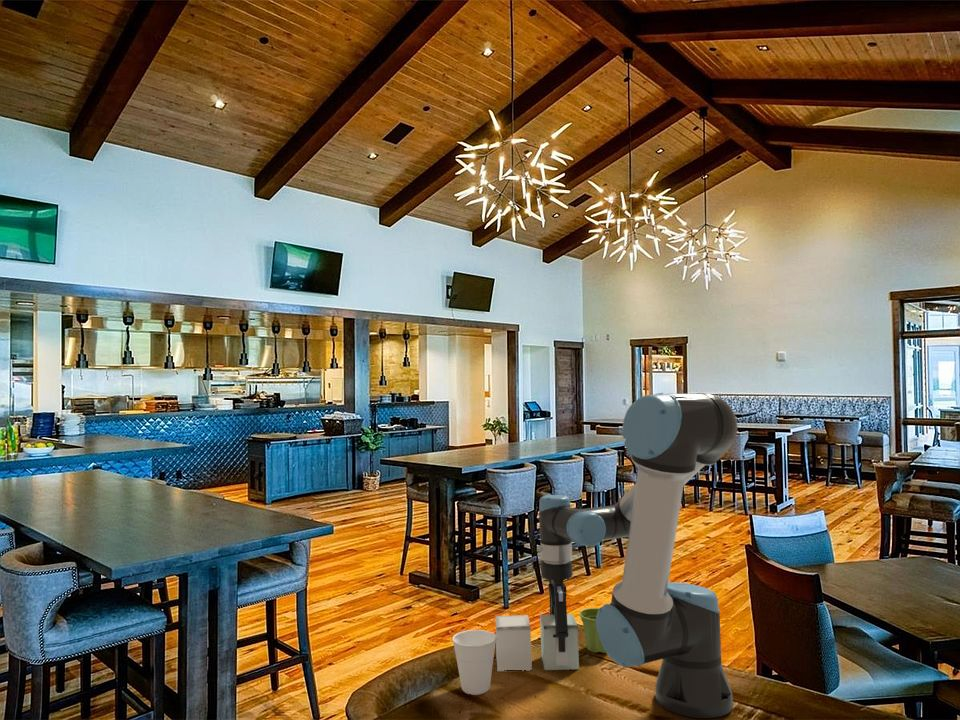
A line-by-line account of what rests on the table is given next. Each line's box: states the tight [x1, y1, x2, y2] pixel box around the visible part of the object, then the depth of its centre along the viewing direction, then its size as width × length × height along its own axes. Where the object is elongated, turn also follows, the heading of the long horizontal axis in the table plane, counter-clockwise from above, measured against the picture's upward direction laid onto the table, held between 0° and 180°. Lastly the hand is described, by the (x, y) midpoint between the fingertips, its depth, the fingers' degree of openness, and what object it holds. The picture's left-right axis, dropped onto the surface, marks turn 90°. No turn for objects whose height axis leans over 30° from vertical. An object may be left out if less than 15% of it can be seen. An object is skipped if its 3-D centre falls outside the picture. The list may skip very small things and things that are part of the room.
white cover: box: [494, 614, 533, 672], centre depth 151 cm, size 8×8×10 cm
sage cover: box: [539, 613, 580, 671], centre depth 151 cm, size 8×8×10 cm
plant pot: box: [578, 607, 607, 654], centre depth 159 cm, size 9×9×9 cm
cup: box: [451, 629, 497, 696], centre depth 138 cm, size 10×10×11 cm
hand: (559, 657), depth 151 cm, fingers closed on sage cover, 8 cm apart
